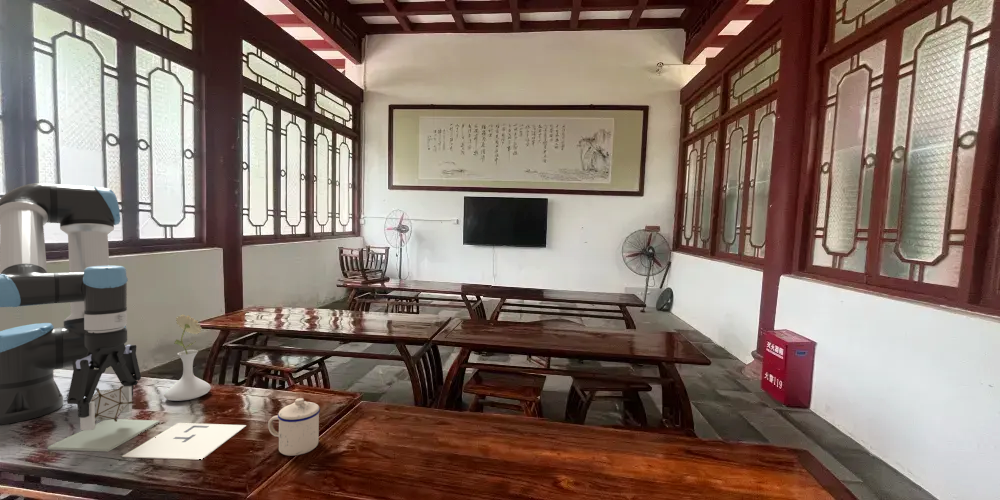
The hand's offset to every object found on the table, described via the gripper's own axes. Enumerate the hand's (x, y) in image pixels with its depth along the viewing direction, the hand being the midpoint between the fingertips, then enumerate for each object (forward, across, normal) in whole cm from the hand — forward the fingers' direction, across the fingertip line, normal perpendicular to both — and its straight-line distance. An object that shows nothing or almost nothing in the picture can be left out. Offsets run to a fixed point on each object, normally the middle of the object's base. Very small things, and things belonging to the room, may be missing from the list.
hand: (107, 419), depth 100 cm
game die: (0, 0, 0) cm, 0 cm away
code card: (+4, -1, -21) cm, 21 cm away
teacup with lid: (+4, -2, -47) cm, 47 cm away
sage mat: (+4, 0, 0) cm, 4 cm away
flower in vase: (+4, +24, -1) cm, 24 cm away
